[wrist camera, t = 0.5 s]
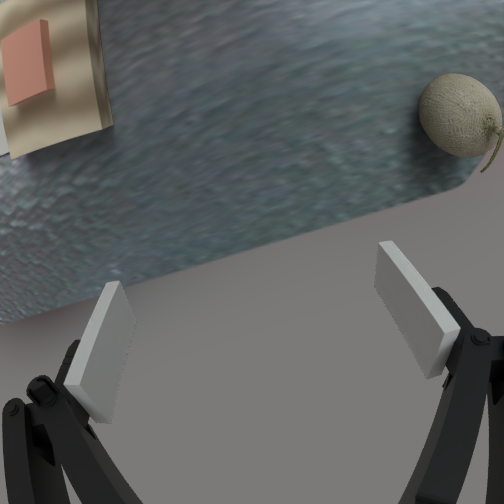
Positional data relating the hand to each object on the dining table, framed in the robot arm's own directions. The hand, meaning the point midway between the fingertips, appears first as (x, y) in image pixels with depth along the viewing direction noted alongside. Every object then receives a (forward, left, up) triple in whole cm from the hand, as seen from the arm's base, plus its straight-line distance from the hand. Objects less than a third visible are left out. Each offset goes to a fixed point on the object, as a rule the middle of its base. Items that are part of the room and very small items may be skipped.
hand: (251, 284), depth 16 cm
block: (-18, -22, -22) cm, 36 cm away
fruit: (-5, +28, -26) cm, 38 cm away
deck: (-18, -21, -26) cm, 38 cm away
